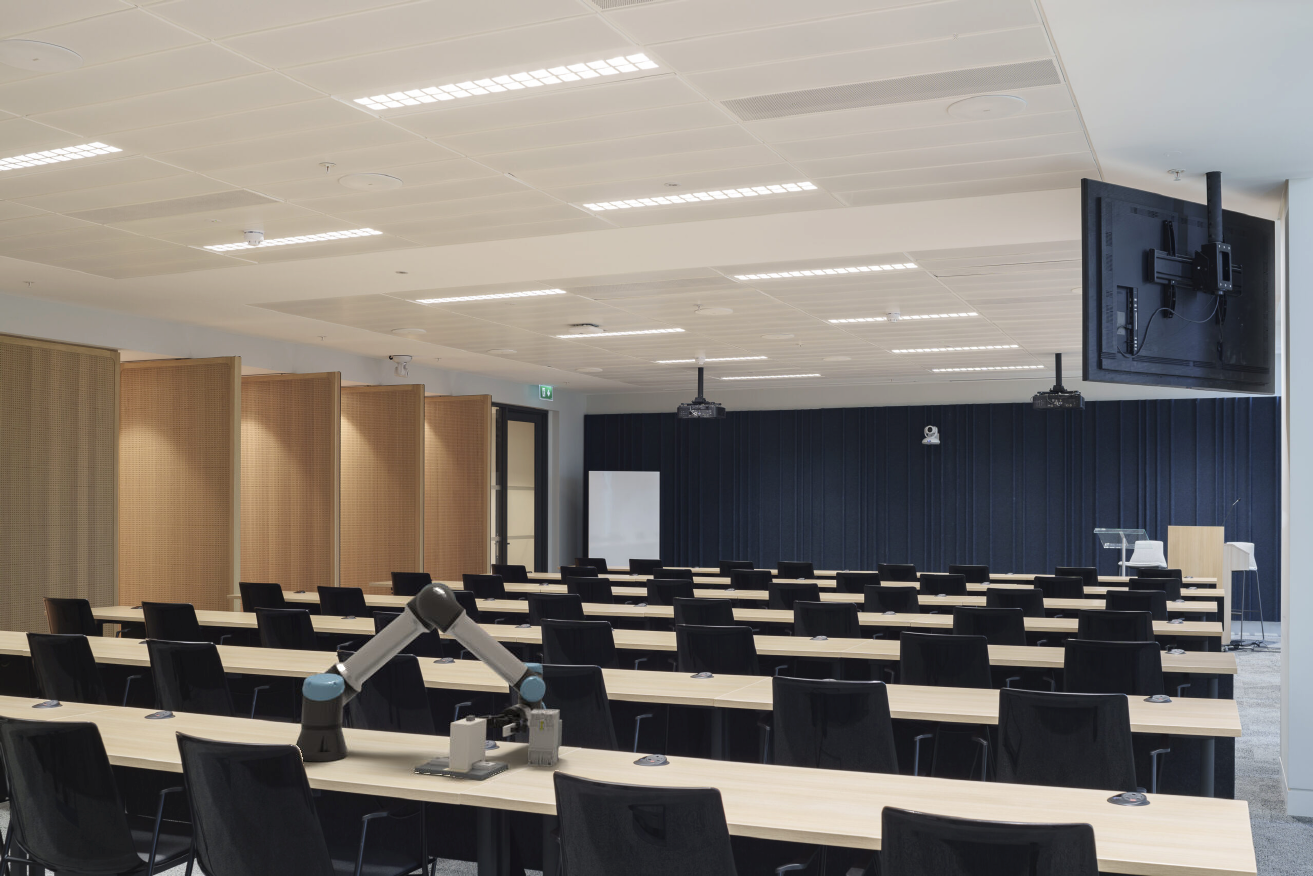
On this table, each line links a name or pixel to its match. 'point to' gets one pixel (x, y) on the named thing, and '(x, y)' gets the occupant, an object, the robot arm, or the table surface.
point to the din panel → (476, 772)
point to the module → (467, 742)
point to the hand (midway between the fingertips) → (482, 729)
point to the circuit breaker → (544, 736)
